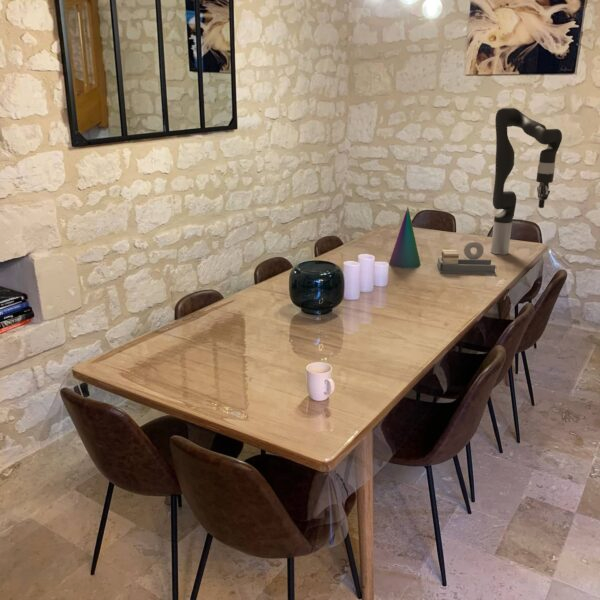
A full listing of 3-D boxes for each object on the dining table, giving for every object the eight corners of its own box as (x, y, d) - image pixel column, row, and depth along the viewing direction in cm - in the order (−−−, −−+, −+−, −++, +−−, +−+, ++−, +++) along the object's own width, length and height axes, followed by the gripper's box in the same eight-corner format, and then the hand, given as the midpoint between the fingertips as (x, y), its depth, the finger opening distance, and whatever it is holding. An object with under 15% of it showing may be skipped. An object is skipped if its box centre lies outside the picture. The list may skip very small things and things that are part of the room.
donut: (482, 259, 308) (484, 240, 304) (482, 261, 305) (484, 242, 301) (462, 258, 310) (464, 239, 307) (462, 260, 307) (464, 241, 304)
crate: (440, 265, 294) (441, 249, 292) (455, 265, 294) (456, 249, 291) (442, 269, 287) (443, 253, 285) (457, 269, 287) (459, 253, 284)
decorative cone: (426, 263, 302) (430, 205, 292) (409, 270, 291) (413, 210, 280) (400, 257, 312) (403, 201, 302) (382, 264, 301) (385, 206, 291)
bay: (436, 265, 298) (437, 255, 296) (489, 266, 296) (490, 256, 294) (440, 273, 285) (441, 263, 283) (495, 274, 283) (496, 264, 281)
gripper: (533, 170, 289) (529, 205, 295) (541, 173, 277) (537, 210, 283) (549, 170, 289) (544, 205, 294) (558, 173, 276) (553, 210, 282)
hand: (541, 207), depth 288 cm, fingers closed
